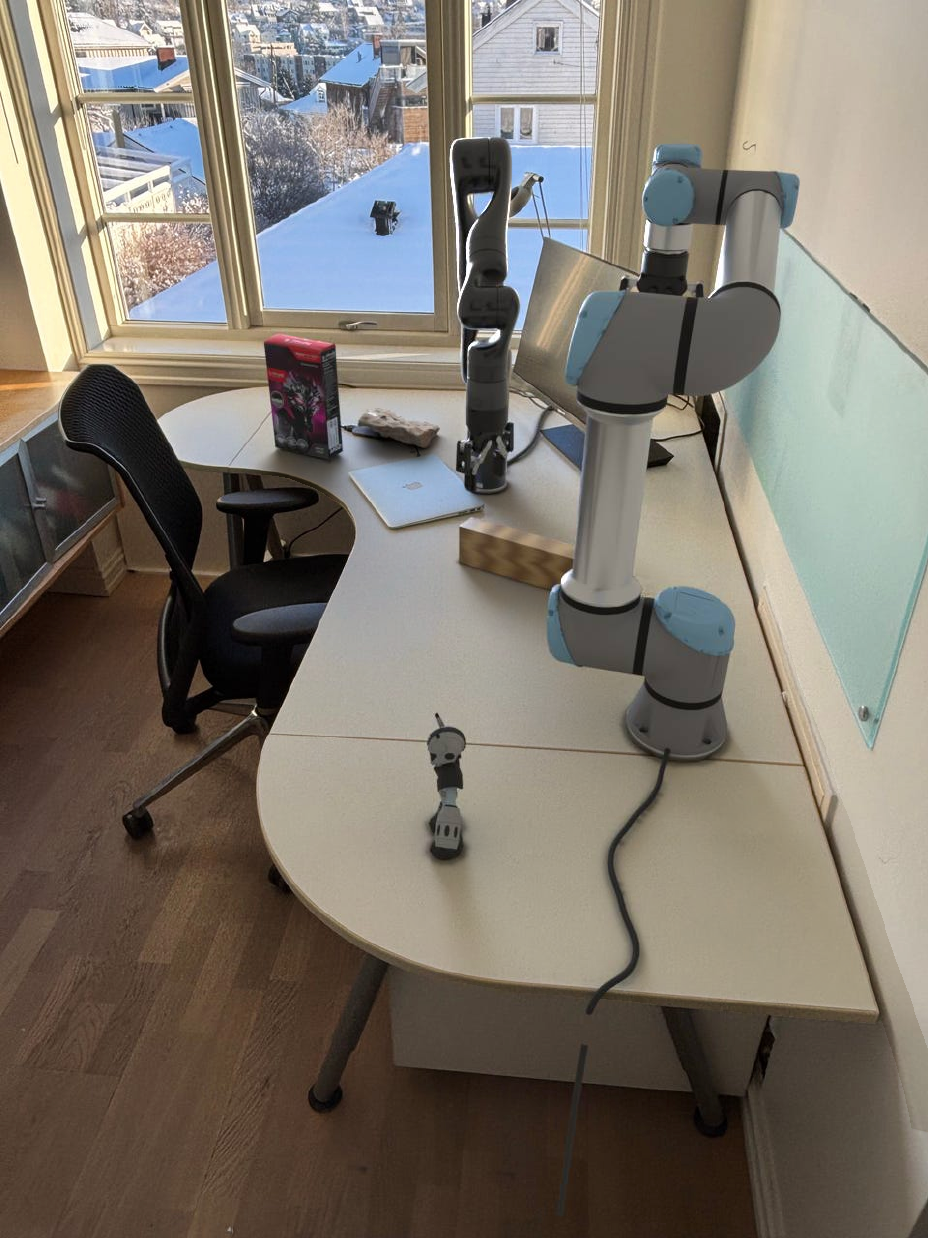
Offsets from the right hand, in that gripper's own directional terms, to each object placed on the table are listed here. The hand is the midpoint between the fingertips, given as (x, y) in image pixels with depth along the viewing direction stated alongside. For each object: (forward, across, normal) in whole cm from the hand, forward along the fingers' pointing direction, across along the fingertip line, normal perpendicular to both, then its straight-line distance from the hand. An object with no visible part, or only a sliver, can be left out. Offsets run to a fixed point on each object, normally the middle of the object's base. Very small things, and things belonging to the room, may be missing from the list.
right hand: (650, 375), depth 164 cm
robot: (+40, +15, +79) cm, 90 cm away
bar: (+39, +20, +9) cm, 45 cm away
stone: (+38, +66, -49) cm, 90 cm away
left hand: (+21, +28, +8) cm, 36 cm away
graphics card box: (+39, +84, -35) cm, 98 cm away
